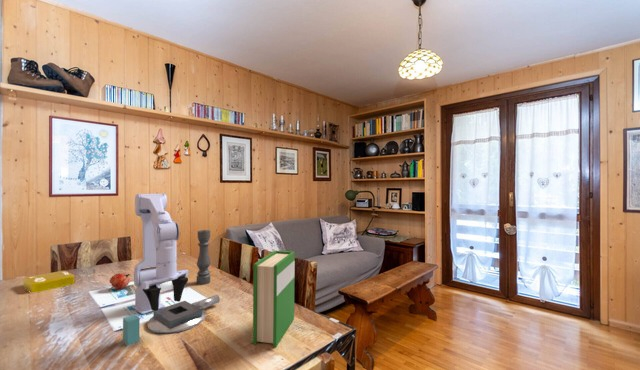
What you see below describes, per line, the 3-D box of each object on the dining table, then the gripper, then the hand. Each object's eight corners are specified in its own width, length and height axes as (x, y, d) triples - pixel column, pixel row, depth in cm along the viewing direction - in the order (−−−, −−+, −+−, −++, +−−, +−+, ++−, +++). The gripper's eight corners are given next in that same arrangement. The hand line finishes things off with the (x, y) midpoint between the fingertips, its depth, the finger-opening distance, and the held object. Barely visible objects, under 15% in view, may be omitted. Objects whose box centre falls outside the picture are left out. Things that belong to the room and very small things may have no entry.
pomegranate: (108, 298, 121) (129, 283, 123) (98, 284, 121) (119, 269, 123) (118, 293, 128) (138, 279, 130) (109, 280, 129) (128, 266, 130)
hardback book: (276, 347, 81) (276, 265, 81) (252, 344, 83) (253, 264, 83) (294, 319, 99) (294, 251, 99) (274, 317, 100) (275, 250, 100)
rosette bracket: (138, 322, 95) (138, 310, 95) (204, 299, 115) (205, 289, 115) (162, 340, 85) (162, 327, 85) (231, 311, 104) (231, 300, 104)
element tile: (76, 284, 132) (76, 274, 132) (31, 294, 119) (31, 283, 119) (65, 278, 140) (65, 269, 140) (22, 287, 128) (22, 277, 128)
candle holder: (199, 280, 138) (199, 230, 138) (211, 280, 138) (212, 230, 138) (194, 284, 131) (195, 232, 132) (208, 284, 132) (208, 232, 132)
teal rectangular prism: (122, 341, 84) (123, 318, 84) (134, 336, 86) (134, 314, 86) (127, 345, 82) (128, 322, 82) (139, 341, 84) (139, 318, 84)
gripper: (152, 268, 79) (152, 316, 79) (194, 257, 92) (194, 298, 92) (136, 266, 82) (136, 312, 82) (179, 256, 95) (180, 296, 95)
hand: (166, 305), depth 87 cm, fingers open, 7 cm apart
